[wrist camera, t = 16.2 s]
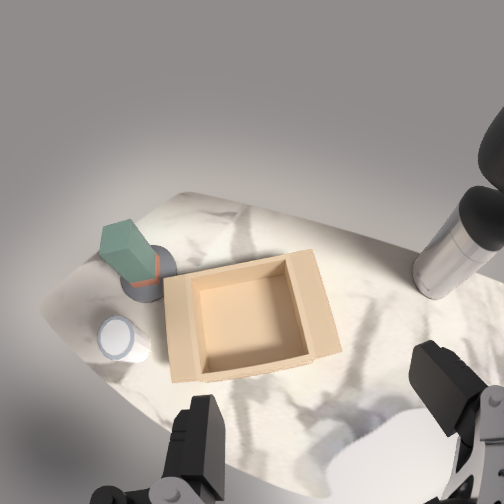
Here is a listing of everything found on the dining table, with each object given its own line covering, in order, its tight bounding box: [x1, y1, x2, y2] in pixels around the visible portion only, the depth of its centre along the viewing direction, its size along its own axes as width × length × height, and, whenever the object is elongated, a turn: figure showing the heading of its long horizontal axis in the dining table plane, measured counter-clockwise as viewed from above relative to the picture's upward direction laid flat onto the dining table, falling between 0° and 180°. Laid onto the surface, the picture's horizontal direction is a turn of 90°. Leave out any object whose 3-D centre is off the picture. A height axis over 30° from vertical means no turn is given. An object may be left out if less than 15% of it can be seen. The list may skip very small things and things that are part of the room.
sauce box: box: [99, 219, 160, 288], centre depth 41 cm, size 5×5×12 cm
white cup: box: [97, 315, 151, 363], centre depth 37 cm, size 7×7×7 cm
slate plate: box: [121, 245, 177, 303], centre depth 47 cm, size 11×11×1 cm
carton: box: [163, 249, 342, 383], centre depth 38 cm, size 23×16×6 cm
